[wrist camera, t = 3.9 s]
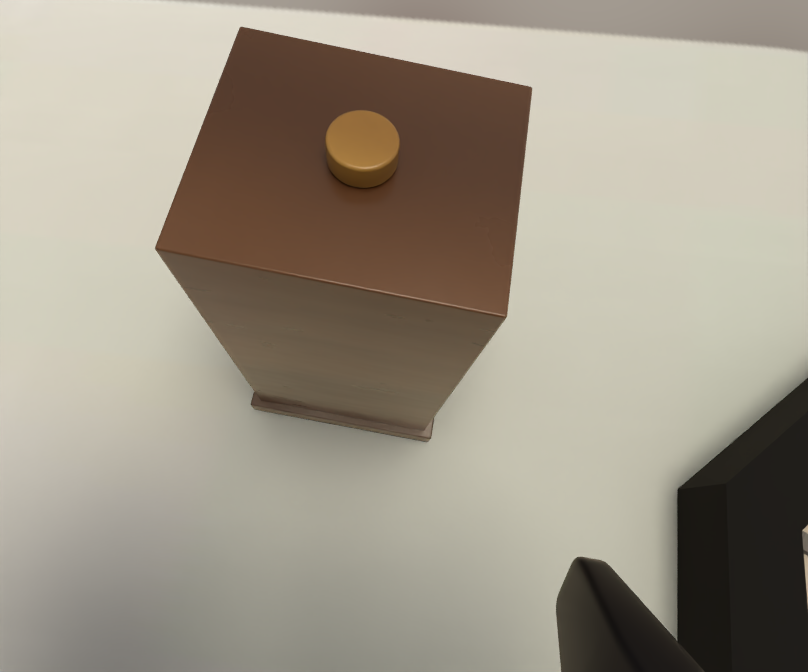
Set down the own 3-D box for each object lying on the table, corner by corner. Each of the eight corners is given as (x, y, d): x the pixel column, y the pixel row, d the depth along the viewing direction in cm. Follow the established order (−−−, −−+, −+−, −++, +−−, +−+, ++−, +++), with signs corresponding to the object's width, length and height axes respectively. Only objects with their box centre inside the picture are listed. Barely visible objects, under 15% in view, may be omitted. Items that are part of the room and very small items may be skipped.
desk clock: (428, 442, 21) (533, 321, 9) (253, 409, 21) (117, 240, 9) (449, 303, 23) (557, 52, 11) (291, 272, 23) (224, -18, 11)
